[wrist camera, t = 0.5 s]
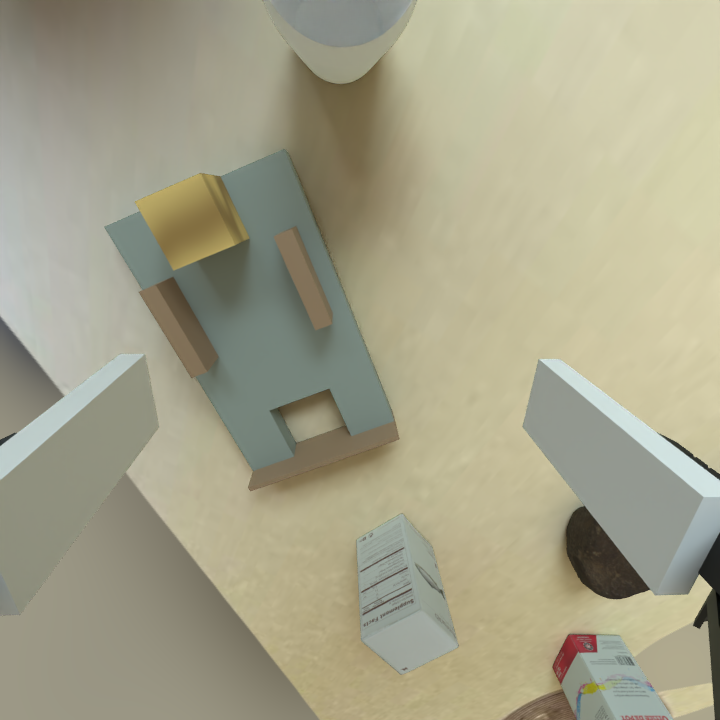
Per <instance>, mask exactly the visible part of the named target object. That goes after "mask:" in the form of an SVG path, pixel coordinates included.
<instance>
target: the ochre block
mask: <svg viewBox="0 0 720 720" xmlns="http://www.w3.org/2000/svg"><path fill="white" fill-rule="evenodd" d="M135 203H136V205H137V207H138V209H139V210H140V212H141V214H142V216H143V217H144V219H145V221H146V223H147V224H148V226H149V228H150V230H151V232H152V233H153V235H154V237H155V239H156V240H157V242H158V244H159V246H160V247H161V249H162V251H163V253H164V254H165V256H166V258H167V260H168V262H169V263H170V265H171V267H172V269H173V270H176V269H179V268H181V267H183V266H186V265H188V264H191V263H193V262H196V261H198V260H200V259H203V258H205V257H208V256H210V255H212V254H215V253H217V252H220V251H222V250H225V249H227V248H229V247H232V246H234V245H237V244H239V243H241V242H243V241H245V240H247V239H249V236H248V233H247V231H246V229H245V227H244V225H243V223H242V221H241V219H240V217H239V214H238V212H237V210H236V208H235V206H234V204H233V202H232V200H231V198H230V195H229V193H228V191H227V189H226V187H225V185H224V183H223V181H222V179H221V177H220V176H214V175H208V174H202V173H199V174H197V175H195V176H192V177H190V178H188V179H186V180H183V181H181V182H179V183H176V184H174V185H172V186H169V187H167V188H165V189H163V190H160V191H158V192H156V193H153V194H151V195H149V196H147V197H144V198H142V199H140V200H137V201H135Z"/></svg>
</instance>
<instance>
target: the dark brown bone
mask: <svg viewBox="0 0 720 720" xmlns="http://www.w3.org/2000/svg"><path fill="white" fill-rule="evenodd" d="M567 554H568V557H569V559H570V561H571V564H572V566H573V568H574V570H575V572H576V573H577V575H578V577H579V578H580V580H581V582H582V583H583V584H584V585H586V586H587V587H588V588H590V589H591V590H592V591H594V592H595V593H596V594H598V595H600V596H602V597H606V598H609V599H622V598H627V597H630V596H632V595H635V594H639V593H642V592H645V591H648V590H651V589H650V588H649V587H648V586H647V584H646V583H645V582H644V581H643V579H642V578H641V577H640V576H639V574H638V573H637V572H636V570H635V569H634V568H633V567H632V565H631V564H630V563H629V562H628V560H627V559H626V558H625V556H624V555H623V554H622V553H621V551H620V550H619V549H618V548H617V546H616V545H615V544H614V542H613V541H612V540H611V539H610V537H609V536H608V535H607V534H606V532H605V531H604V530H603V528H602V527H601V526H600V525H599V523H598V522H597V521H596V520H595V518H594V517H593V516H592V515H591V513H590V512H589V511H588V509H587V508H586V507H581V508H579V509H577V510H576V511H575V512H574V513H573V515H572V517H571V520H570V523H569V525H568V528H567Z"/></svg>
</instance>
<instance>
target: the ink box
mask: <svg viewBox="0 0 720 720" xmlns="http://www.w3.org/2000/svg"><path fill="white" fill-rule="evenodd" d="M553 669H554V671H555V674H556V676H557V678H558V680H559V682H560V684H561V686H562V689H563V691H564V693H565V695H566V697H567V699H568V702H569V704H570V706H571V708H572V710H573V712H574V715H575V717H576V719H577V720H673V718H672V716H671V715H670V713H669V712H668V710H667V709H666V707H665V706H664V704H663V702H662V701H661V699H660V698H659V696H658V695H657V693H656V692H655V690H654V689H653V687H652V685H651V684H650V682H649V681H648V679H647V678H646V676H645V675H644V673H643V671H642V670H641V668H640V667H639V665H638V664H637V662H636V660H635V659H634V657H633V656H632V654H631V653H630V651H629V649H628V648H627V646H626V645H625V643H624V642H623V640H622V639H621V637H620V636H619V635H568V637H567V639H566V641H565V643H564V644H563V646H562V648H561V650H560V652H559V654H558V656H557V658H556V660H555V663H554V665H553Z"/></svg>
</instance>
